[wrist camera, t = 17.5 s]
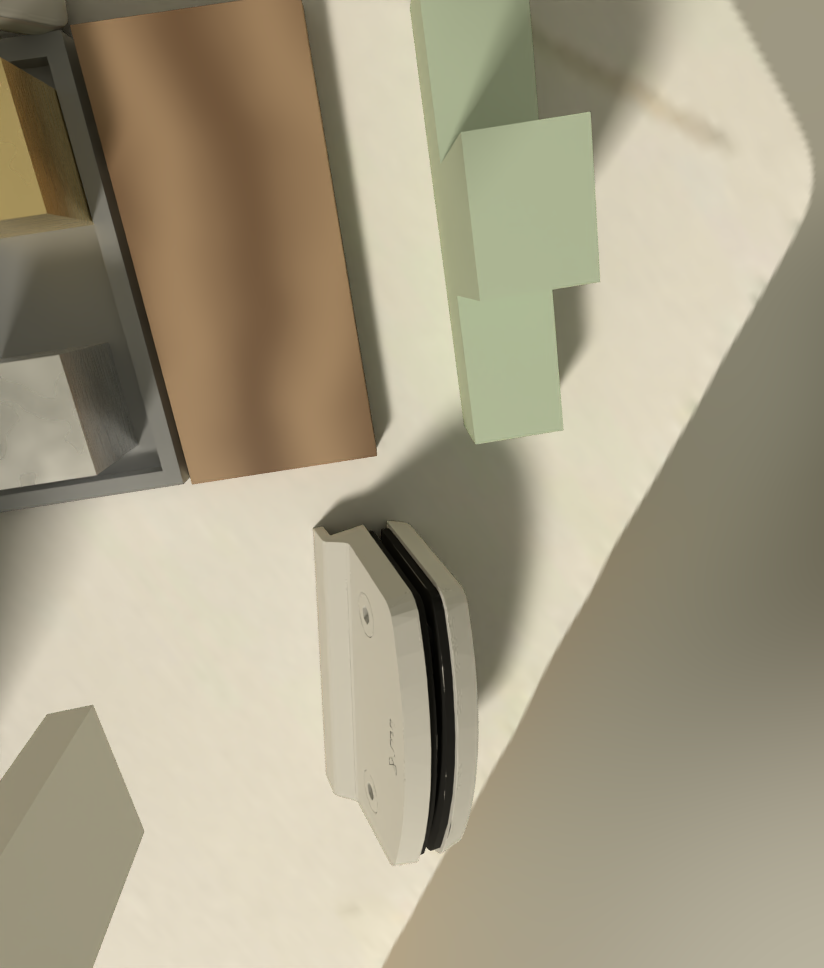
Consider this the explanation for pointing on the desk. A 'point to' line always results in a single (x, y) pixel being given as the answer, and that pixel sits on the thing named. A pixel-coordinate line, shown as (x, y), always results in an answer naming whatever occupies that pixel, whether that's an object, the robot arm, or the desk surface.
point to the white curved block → (397, 686)
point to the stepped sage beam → (503, 209)
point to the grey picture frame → (32, 16)
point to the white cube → (61, 416)
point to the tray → (85, 296)
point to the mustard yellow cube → (36, 159)
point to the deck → (233, 231)
